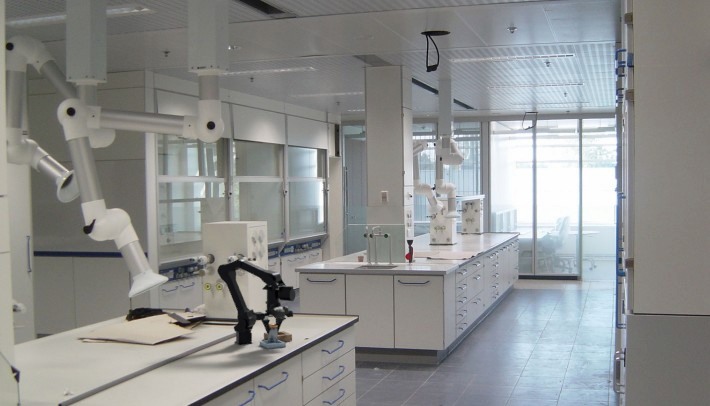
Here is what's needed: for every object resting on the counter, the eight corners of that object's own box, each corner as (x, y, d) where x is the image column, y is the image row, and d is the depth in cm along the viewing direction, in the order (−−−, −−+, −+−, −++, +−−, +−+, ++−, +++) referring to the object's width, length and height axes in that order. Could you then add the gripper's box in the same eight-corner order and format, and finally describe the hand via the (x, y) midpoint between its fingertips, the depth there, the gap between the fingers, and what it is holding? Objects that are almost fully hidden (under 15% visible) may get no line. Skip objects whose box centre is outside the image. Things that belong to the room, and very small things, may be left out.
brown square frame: (273, 343, 345) (273, 336, 345) (263, 339, 354) (263, 332, 354) (291, 340, 351) (291, 334, 351) (282, 336, 359) (282, 330, 359)
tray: (268, 349, 333) (268, 345, 333) (259, 345, 340) (259, 341, 340) (285, 346, 338) (285, 343, 338) (276, 343, 345) (276, 339, 345)
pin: (270, 343, 336) (270, 326, 335) (265, 341, 340) (265, 324, 339) (279, 342, 338) (279, 325, 338) (274, 340, 342) (275, 323, 342)
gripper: (262, 303, 327) (261, 338, 327) (299, 300, 337) (298, 334, 337) (251, 300, 336) (251, 334, 336) (287, 297, 346) (287, 330, 347)
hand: (272, 333), depth 339 cm, fingers closed on pin, 4 cm apart
